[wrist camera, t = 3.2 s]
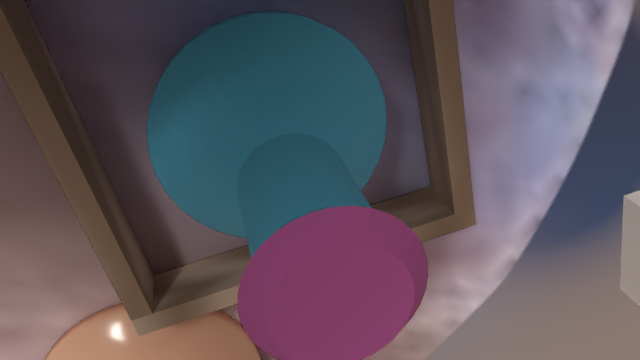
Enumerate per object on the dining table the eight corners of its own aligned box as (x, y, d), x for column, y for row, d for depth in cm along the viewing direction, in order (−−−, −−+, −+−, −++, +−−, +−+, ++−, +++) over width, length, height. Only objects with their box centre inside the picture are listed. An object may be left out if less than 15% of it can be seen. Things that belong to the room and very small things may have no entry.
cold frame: (142, 296, 29) (126, 522, 19) (-53, -94, 20) (-287, -72, 10) (449, 195, 31) (592, 353, 20) (399, -207, 22) (608, -291, 11)
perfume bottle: (116, 141, 25) (60, 410, 12) (208, -53, 23) (259, 31, 10) (293, 212, 29) (393, 476, 16) (390, 53, 26) (602, 216, 13)
